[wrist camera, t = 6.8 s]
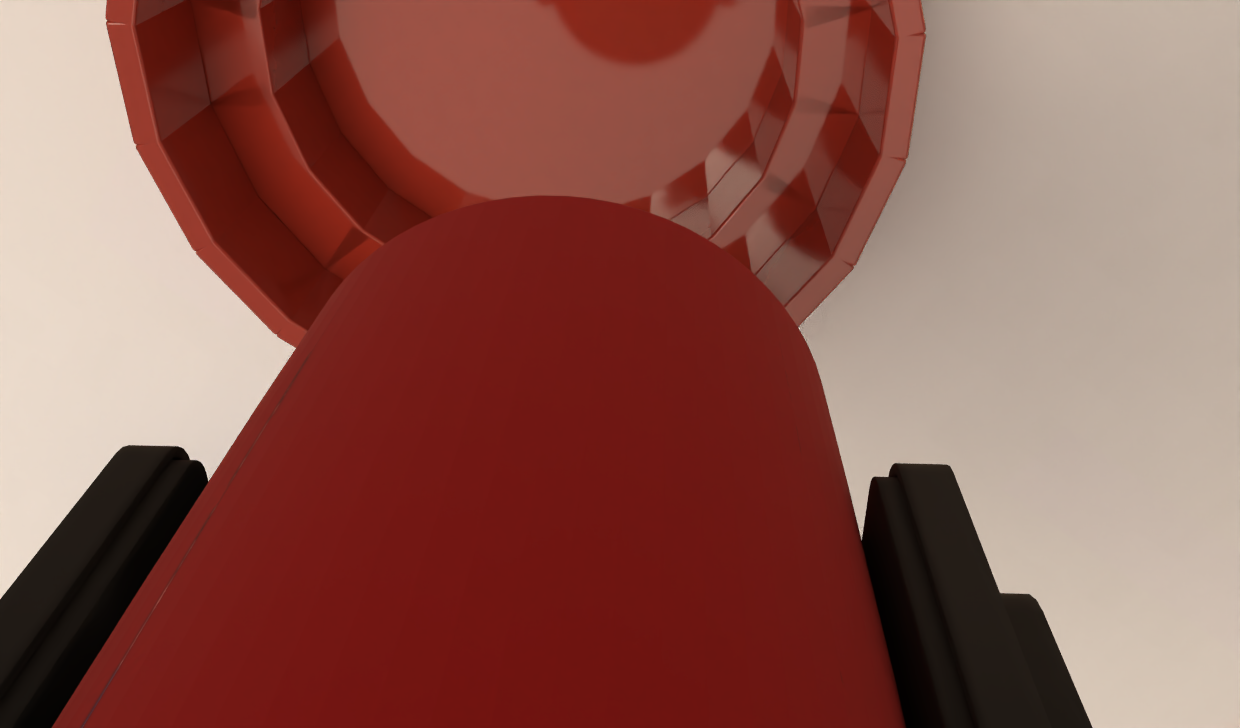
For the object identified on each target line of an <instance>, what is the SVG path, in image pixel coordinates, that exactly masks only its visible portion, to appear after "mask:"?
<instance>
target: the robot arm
mask: <svg viewBox="0 0 1240 728" xmlns="http://www.w3.org/2000/svg"><path fill="white" fill-rule="evenodd" d="M207 484H208V478H207V474H206V471H205V468H204V466H203V465H202V463H201V462H199V461H197V460H190V459H189V456H188V454H187V453H186V451H185V450H184V449H183V448H181V447H178V446H137V445H128V446H125V447H122V448H121V449H120V450H119V451H118V452H117V453H116V454H115V455H114V456H113V458H112V459H111V460H110V462H109V463H108V464H107V465H106V467H105V468H104V469H103V470H102V472H101V473H100V474H99V475H98V477H97V478H96V479H95V480H94V482H93V483H92V484H91V486H90V487H89V488H88V489H87V491H86V492H85V493H84V494H83V496H82V497H81V498H80V499H79V501H78V502H77V503H76V504H75V506H74V507H73V508H72V510H71V511H70V512H69V513H68V515H67V516H66V517H65V518H64V520H63V521H62V522H61V523H60V525H59V526H58V527H57V528H56V530H55V531H54V532H53V534H52V535H51V536H50V537H49V539H48V540H47V541H46V542H45V544H44V545H43V546H42V547H41V549H40V550H39V551H38V552H37V554H36V555H35V556H34V558H33V559H32V560H31V561H30V563H29V564H28V565H27V566H26V568H25V569H24V570H23V571H22V573H21V574H20V575H19V576H18V578H17V579H16V580H15V582H14V583H13V584H12V585H11V587H10V588H9V589H8V590H7V592H6V593H5V594H4V595H3V597H2V598H1V599H0V728H52V726H53V725H54V723H55V721H56V720H57V718H58V717H59V715H60V714H61V712H62V710H63V709H64V707H65V706H66V704H67V703H68V701H69V699H70V698H71V696H72V695H73V693H74V691H75V690H76V688H77V687H78V685H79V684H80V682H81V680H82V679H83V677H84V676H85V674H86V673H87V671H88V669H89V668H90V666H91V665H92V663H93V661H94V660H95V658H96V657H97V655H98V654H99V652H100V650H101V649H102V647H103V646H104V644H105V642H106V641H107V639H108V638H109V636H110V635H111V633H112V631H113V630H114V628H115V627H116V625H117V624H118V622H119V620H120V619H121V617H122V616H123V614H124V612H125V611H126V609H127V608H128V606H129V605H130V603H131V601H132V600H133V598H134V597H135V595H136V594H137V592H138V590H139V589H140V587H141V586H142V584H143V583H144V581H145V580H146V578H147V576H148V575H149V573H150V572H151V570H152V569H153V567H154V566H155V564H156V563H157V561H158V559H159V558H160V556H161V555H162V553H163V552H164V550H165V549H166V547H167V545H168V544H169V542H170V541H171V539H172V538H173V536H174V535H175V533H176V532H177V530H178V528H179V527H180V525H181V524H182V522H183V521H184V519H185V518H186V516H187V515H188V513H189V511H190V510H191V508H192V507H193V505H194V504H195V502H196V501H197V499H198V497H199V496H200V494H201V493H202V491H203V490H204V488H205V487H206V485H207ZM862 545H863V549H864V553H865V557H866V561H867V565H868V570H869V574H870V578H871V582H872V586H873V590H874V594H875V598H876V602H877V606H878V611H879V615H880V619H881V623H882V627H883V631H884V635H885V639H886V643H887V648H888V652H889V656H890V660H891V664H892V668H893V672H894V677H895V681H896V685H897V690H898V694H899V698H900V703H901V707H902V711H903V716H904V720H905V724H906V728H1092V725H1091V723H1090V721H1089V718H1088V716H1087V714H1086V711H1085V709H1084V707H1083V704H1082V702H1081V700H1080V697H1079V695H1078V693H1077V690H1076V688H1075V686H1074V683H1073V681H1072V679H1071V676H1070V674H1069V672H1068V669H1067V667H1066V665H1065V662H1064V660H1063V657H1062V655H1061V653H1060V650H1059V648H1058V646H1057V643H1056V641H1055V639H1054V636H1053V634H1052V632H1051V629H1050V627H1049V625H1048V622H1047V620H1046V618H1045V615H1044V613H1043V611H1042V609H1041V607H1040V606H1039V604H1038V602H1037V600H1036V599H1035V598H1033V597H1032V596H1031V595H1030V594H1005V593H1000V592H999V590H998V587H997V585H996V582H995V579H994V577H993V574H992V572H991V569H990V566H989V564H988V561H987V559H986V556H985V553H984V551H983V548H982V546H981V543H980V540H979V538H978V535H977V533H976V530H975V527H974V525H973V522H972V520H971V517H970V514H969V512H968V509H967V507H966V504H965V501H964V499H963V496H962V494H961V491H960V488H959V486H958V483H957V481H956V478H955V475H954V473H953V471H952V469H951V467H950V466H948V465H943V464H901V463H895V464H893V465H892V467H891V469H890V472H889V477H873V478H872V480H871V484H870V489H869V495H868V502H867V509H866V516H865V523H864V530H863V536H862Z"/></svg>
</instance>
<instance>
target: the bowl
mask: <svg viewBox="0 0 1240 728" xmlns="http://www.w3.org/2000/svg"><path fill="white" fill-rule="evenodd" d="M106 20H108V21H107V22H106V25H107V30H108V34H109V38H110V43H111V47H112V51H113V55H114V60H115V64H116V68H117V72H118V77H119V81H120V85H121V90H122V94H123V98H124V102H125V107H126V111H127V115H128V119H129V124H130V128H131V132H132V137H133V141H134V143H135V144H136V149H137V151H138V152H139V154H140V156H141V158H142V160H143V161H144V163H145V165H146V167H147V168H148V170H149V172H150V174H151V176H152V177H153V179H154V181H155V183H156V185H157V186H158V188H159V190H160V192H161V193H162V195H163V197H164V199H165V201H166V202H167V204H168V206H169V208H170V210H171V211H172V213H173V215H174V217H175V218H176V220H177V222H178V224H179V226H180V227H181V229H182V231H183V233H184V234H185V236H186V238H187V240H188V242H189V243H190V245H191V247H192V249H193V250H194V251H196V254H197V255H198V256H199V257H200V258H201V259H202V260H203V261H204V263H205V264H206V265H207V266H208V267H209V268H210V269H211V270H212V271H213V272H214V273H215V274H216V275H217V276H218V277H219V278H220V279H221V280H222V281H223V282H224V283H225V284H226V285H227V286H228V287H229V288H230V289H231V290H232V291H233V292H234V293H235V294H236V295H237V296H238V297H239V298H240V299H241V300H242V301H243V302H244V303H245V304H246V305H247V306H248V307H249V308H250V310H251V311H252V312H253V313H254V314H255V315H256V316H257V317H258V318H259V319H260V320H261V321H262V322H263V323H264V324H265V325H266V326H267V327H268V328H269V329H270V330H271V331H272V332H273V333H274V334H277V337H279V338H280V339H282V340H284V341H285V342H287V343H289V344H290V345H292V346H294V347H295V348H297V346H298V345H299V343H300V342H301V340H302V339H303V337H304V336H305V334H306V333H307V331H308V330H309V328H310V327H311V325H312V324H313V322H314V321H315V319H316V318H317V316H318V315H319V313H320V312H321V310H322V309H323V307H324V306H325V304H326V303H327V301H328V300H329V298H330V297H331V296H332V294H333V293H334V292H335V291H336V289H337V288H338V287H339V285H340V284H341V283H342V282H343V280H344V279H345V278H346V277H347V276H348V275H349V274H350V273H351V272H352V271H353V270H354V269H355V268H356V267H357V266H358V265H359V264H360V263H361V262H362V261H364V260H365V259H366V258H367V257H368V256H370V255H371V254H372V253H373V252H374V251H375V250H377V249H378V248H380V247H381V246H383V245H384V244H386V243H387V242H388V241H390V240H391V239H393V238H394V237H396V236H398V235H399V234H401V233H403V232H405V231H407V230H408V229H410V228H412V227H414V226H416V225H418V224H420V223H422V222H425V221H427V220H429V219H431V218H434V217H436V216H438V215H441V214H444V213H447V212H450V211H453V210H456V209H459V208H462V207H465V206H469V205H473V204H477V203H481V202H486V201H491V200H497V199H504V198H510V197H522V196H537V195H548V196H572V197H583V198H592V199H597V200H603V201H608V202H614V203H618V204H622V205H626V206H630V207H633V208H637V209H641V210H644V211H647V212H649V213H652V214H655V215H658V216H661V217H663V218H666V219H668V220H670V221H673V222H675V223H677V224H679V225H681V226H684V227H686V228H688V229H690V230H692V231H694V232H695V233H697V234H699V235H701V236H702V237H704V238H706V239H708V240H710V241H711V242H713V243H714V244H716V245H717V246H719V247H720V248H722V249H723V250H724V251H726V252H727V253H729V254H730V255H732V256H733V257H734V258H735V259H737V260H738V261H739V262H740V263H742V264H743V265H744V266H745V267H746V268H748V269H749V270H750V271H751V272H752V273H753V274H754V275H755V276H756V277H757V278H758V279H759V280H760V281H761V282H762V283H763V284H764V285H765V286H766V287H767V288H769V290H770V291H771V292H772V293H773V294H774V296H775V297H776V298H777V299H778V300H779V301H780V303H781V304H782V305H783V306H784V308H785V309H786V310H787V312H788V313H789V315H790V316H791V318H792V319H793V321H794V322H795V324H796V325H797V327H799V326H800V325H801V323H802V322H803V321H804V320H805V319H806V318H807V317H808V316H809V315H810V314H811V313H812V312H813V311H814V310H815V309H816V308H817V307H818V306H819V305H820V303H821V302H822V301H823V300H824V299H825V298H826V297H827V296H828V295H829V294H830V293H831V292H832V291H833V290H834V289H835V288H836V287H837V286H838V285H839V283H840V282H841V281H842V280H843V279H844V278H845V277H846V276H847V275H848V274H849V273H850V272H851V271H852V270H853V268H854V266H855V265H856V264H857V262H858V260H859V258H860V256H861V254H862V252H863V249H864V247H865V245H866V243H867V241H868V239H869V237H870V235H871V233H872V231H873V229H874V227H875V225H876V223H877V221H878V219H879V217H880V215H881V213H882V211H883V209H884V207H885V205H886V203H887V201H888V199H889V197H890V195H891V193H892V191H893V189H894V187H895V184H896V182H897V180H898V178H899V176H900V174H901V172H902V170H903V168H904V166H905V164H906V159H907V158H908V155H909V148H910V141H911V134H912V128H913V121H914V114H915V108H916V101H917V94H918V87H919V81H920V74H921V67H922V60H923V54H924V47H925V40H926V34H925V31H926V26H925V20H924V14H923V8H922V2H921V0H107V5H106Z"/></svg>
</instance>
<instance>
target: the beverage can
mask: <svg viewBox="0 0 1240 728" xmlns="http://www.w3.org/2000/svg"><path fill="white" fill-rule="evenodd" d="M52 728H906V724H905V720H904V716H903V711H902V707H901V703H900V698H899V694H898V690H897V685H896V681H895V677H894V672H893V668H892V664H891V660H890V656H889V652H888V648H887V643H886V639H885V635H884V631H883V627H882V623H881V619H880V615H879V611H878V606H877V602H876V598H875V594H874V590H873V586H872V582H871V578H870V574H869V570H868V565H867V561H866V557H865V553H864V549H863V545H862V541H861V537H860V533H859V529H858V524H857V520H856V516H855V512H854V508H853V504H852V500H851V496H850V492H849V487H848V483H847V479H846V476H845V472H844V468H843V464H842V460H841V456H840V452H839V448H838V444H837V441H836V437H835V433H834V429H833V425H832V421H831V417H830V413H829V409H828V406H827V402H826V398H825V394H824V390H823V386H822V383H821V379H820V376H819V373H818V370H817V367H816V363H815V361H814V359H813V356H812V354H811V352H810V350H809V347H808V345H807V343H806V341H805V339H804V338H803V336H802V334H801V332H800V330H799V329H798V327H797V325H796V324H795V322H794V321H793V319H792V318H791V316H790V315H789V313H788V312H787V310H786V309H785V308H784V306H783V305H782V304H781V303H780V301H779V300H778V299H777V298H776V297H775V296H774V294H773V293H772V292H771V291H770V290H769V288H767V287H766V286H765V285H764V284H763V283H762V282H761V281H760V280H759V279H758V278H757V277H756V276H755V275H754V274H753V273H752V272H751V271H750V270H749V269H748V268H746V267H745V266H744V265H743V264H742V263H740V262H739V261H738V260H737V259H735V258H734V257H733V256H732V255H730V254H729V253H727V252H726V251H724V250H723V249H722V248H720V247H719V246H717V245H716V244H714V243H713V242H711V241H710V240H708V239H706V238H704V237H702V236H701V235H699V234H697V233H695V232H694V231H692V230H690V229H688V228H686V227H684V226H681V225H679V224H677V223H675V222H673V221H670V220H668V219H666V218H663V217H661V216H658V215H655V214H652V213H649V212H647V211H644V210H641V209H637V208H633V207H630V206H626V205H622V204H618V203H614V202H608V201H603V200H597V199H592V198H583V197H572V196H548V195H537V196H522V197H510V198H504V199H497V200H491V201H486V202H481V203H477V204H473V205H469V206H465V207H462V208H459V209H456V210H453V211H450V212H447V213H444V214H441V215H438V216H436V217H434V218H431V219H429V220H427V221H425V222H422V223H420V224H418V225H416V226H414V227H412V228H410V229H408V230H407V231H405V232H403V233H401V234H399V235H398V236H396V237H394V238H393V239H391V240H390V241H388V242H387V243H386V244H384V245H383V246H381V247H380V248H378V249H377V250H375V251H374V252H373V253H372V254H371V255H370V256H368V257H367V258H366V259H365V260H364V261H362V262H361V263H360V264H359V265H358V266H357V267H356V268H355V269H354V270H353V271H352V272H351V273H350V274H349V275H348V276H347V277H346V278H345V279H344V280H343V282H342V283H341V284H340V285H339V287H338V288H337V289H336V291H335V292H334V293H333V294H332V296H331V297H330V298H329V300H328V301H327V303H326V304H325V306H324V307H323V309H322V310H321V312H320V313H319V315H318V316H317V318H316V319H315V321H314V322H313V324H312V325H311V327H310V328H309V330H308V331H307V333H306V334H305V336H304V337H303V339H302V340H301V342H300V343H299V345H298V346H297V348H296V349H295V351H294V352H293V354H292V355H291V357H290V358H289V360H288V361H287V363H286V364H285V366H284V367H283V369H282V370H281V372H280V373H279V375H278V376H277V378H276V379H275V381H274V382H273V384H272V385H271V387H270V388H269V390H268V391H267V393H266V394H265V396H264V397H263V399H262V400H261V402H260V403H259V405H258V406H257V408H256V409H255V411H254V412H253V414H252V415H251V417H250V419H249V420H248V422H247V423H246V425H245V426H244V428H243V429H242V431H241V432H240V434H239V436H238V437H237V439H236V440H235V442H234V443H233V445H232V446H231V448H230V449H229V451H228V453H227V454H226V456H225V457H224V459H223V460H222V462H221V463H220V465H219V467H218V468H217V470H216V471H215V473H214V474H213V476H212V477H211V479H210V480H209V482H208V484H207V485H206V487H205V488H204V490H203V491H202V493H201V494H200V496H199V497H198V499H197V501H196V502H195V504H194V505H193V507H192V508H191V510H190V511H189V513H188V515H187V516H186V518H185V519H184V521H183V522H182V524H181V525H180V527H179V528H178V530H177V532H176V533H175V535H174V536H173V538H172V539H171V541H170V542H169V544H168V545H167V547H166V549H165V550H164V552H163V553H162V555H161V556H160V558H159V559H158V561H157V563H156V564H155V566H154V567H153V569H152V570H151V572H150V573H149V575H148V576H147V578H146V580H145V581H144V583H143V584H142V586H141V587H140V589H139V590H138V592H137V594H136V595H135V597H134V598H133V600H132V601H131V603H130V605H129V606H128V608H127V609H126V611H125V612H124V614H123V616H122V617H121V619H120V620H119V622H118V624H117V625H116V627H115V628H114V630H113V631H112V633H111V635H110V636H109V638H108V639H107V641H106V642H105V644H104V646H103V647H102V649H101V650H100V652H99V654H98V655H97V657H96V658H95V660H94V661H93V663H92V665H91V666H90V668H89V669H88V671H87V673H86V674H85V676H84V677H83V679H82V680H81V682H80V684H79V685H78V687H77V688H76V690H75V691H74V693H73V695H72V696H71V698H70V699H69V701H68V703H67V704H66V706H65V707H64V709H63V710H62V712H61V714H60V715H59V717H58V718H57V720H56V721H55V723H54V725H53V726H52Z"/></svg>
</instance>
